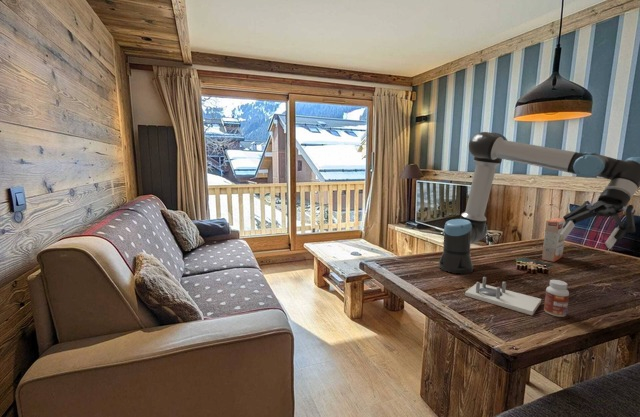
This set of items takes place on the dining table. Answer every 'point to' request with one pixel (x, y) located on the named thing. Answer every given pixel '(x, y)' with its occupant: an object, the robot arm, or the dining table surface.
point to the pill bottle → (556, 298)
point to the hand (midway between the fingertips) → (583, 241)
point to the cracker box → (553, 240)
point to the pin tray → (503, 297)
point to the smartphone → (534, 261)
